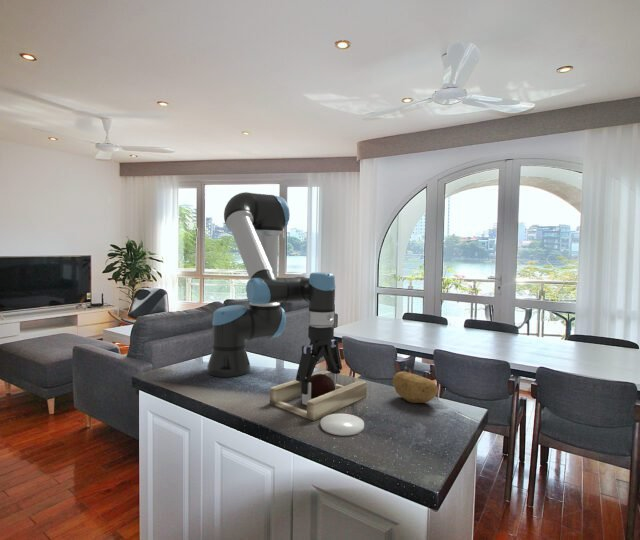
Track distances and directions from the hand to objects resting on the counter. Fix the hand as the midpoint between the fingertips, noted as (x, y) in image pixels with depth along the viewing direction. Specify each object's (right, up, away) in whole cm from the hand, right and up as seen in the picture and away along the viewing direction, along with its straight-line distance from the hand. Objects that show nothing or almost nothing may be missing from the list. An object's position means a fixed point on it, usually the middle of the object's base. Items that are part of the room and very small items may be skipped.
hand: (319, 399), depth 115 cm
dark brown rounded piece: (0, 0, 0) cm, 0 cm away
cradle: (0, 0, 0) cm, 0 cm away
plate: (+6, -1, -17) cm, 18 cm away
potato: (+28, -1, +1) cm, 28 cm away
